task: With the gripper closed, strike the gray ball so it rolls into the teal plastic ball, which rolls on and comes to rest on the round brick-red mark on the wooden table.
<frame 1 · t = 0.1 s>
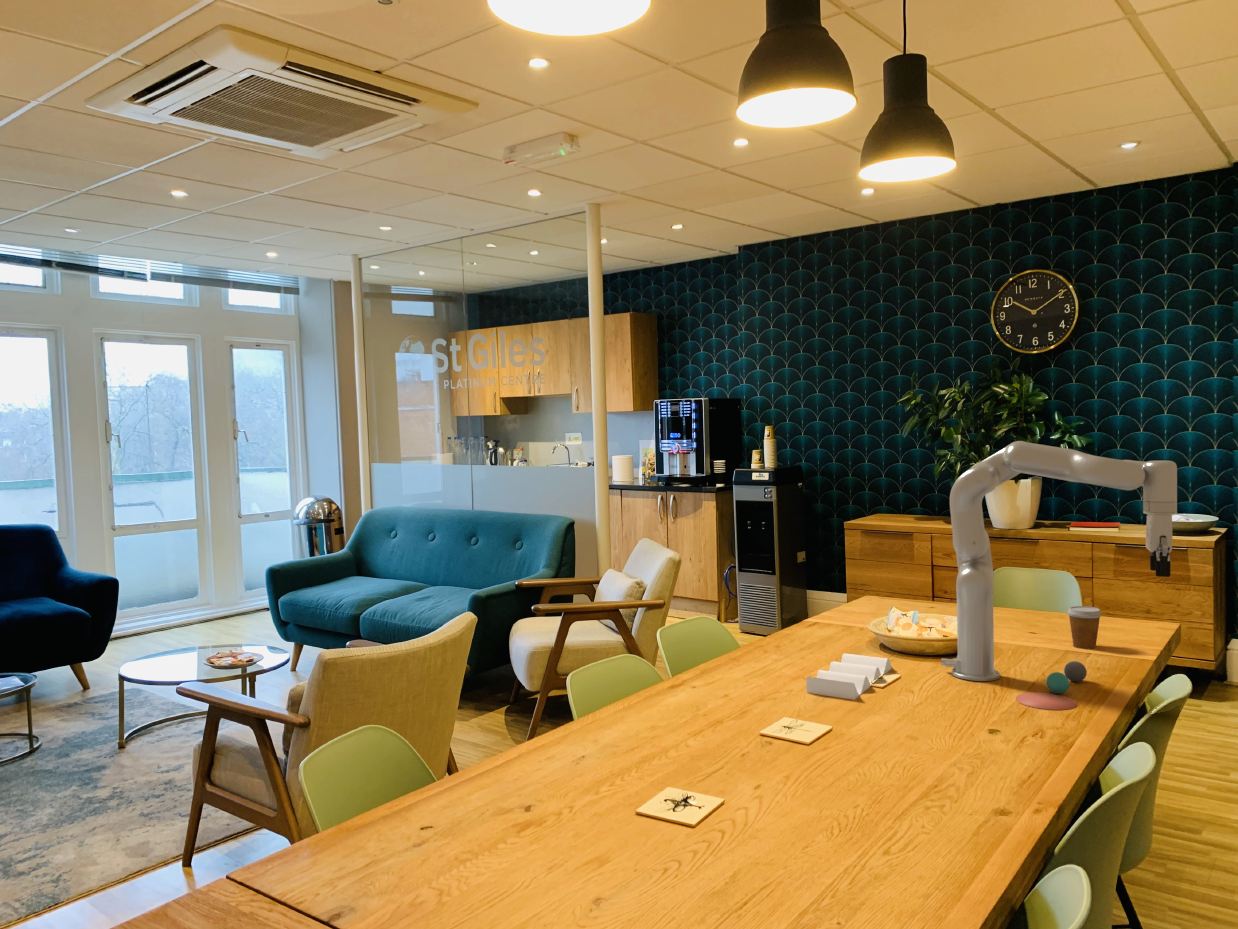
hand: (1160, 573, 232), 31 cm above the table, tool pointing down, fingers open, 9 cm apart
gray ball: (1075, 671, 244), on the table
white taco holder: (851, 682, 252), on the table
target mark: (1045, 701, 228), on the table
object ball: (1057, 683, 234), on the table
disposable coffee cup: (1084, 647, 281), on the table
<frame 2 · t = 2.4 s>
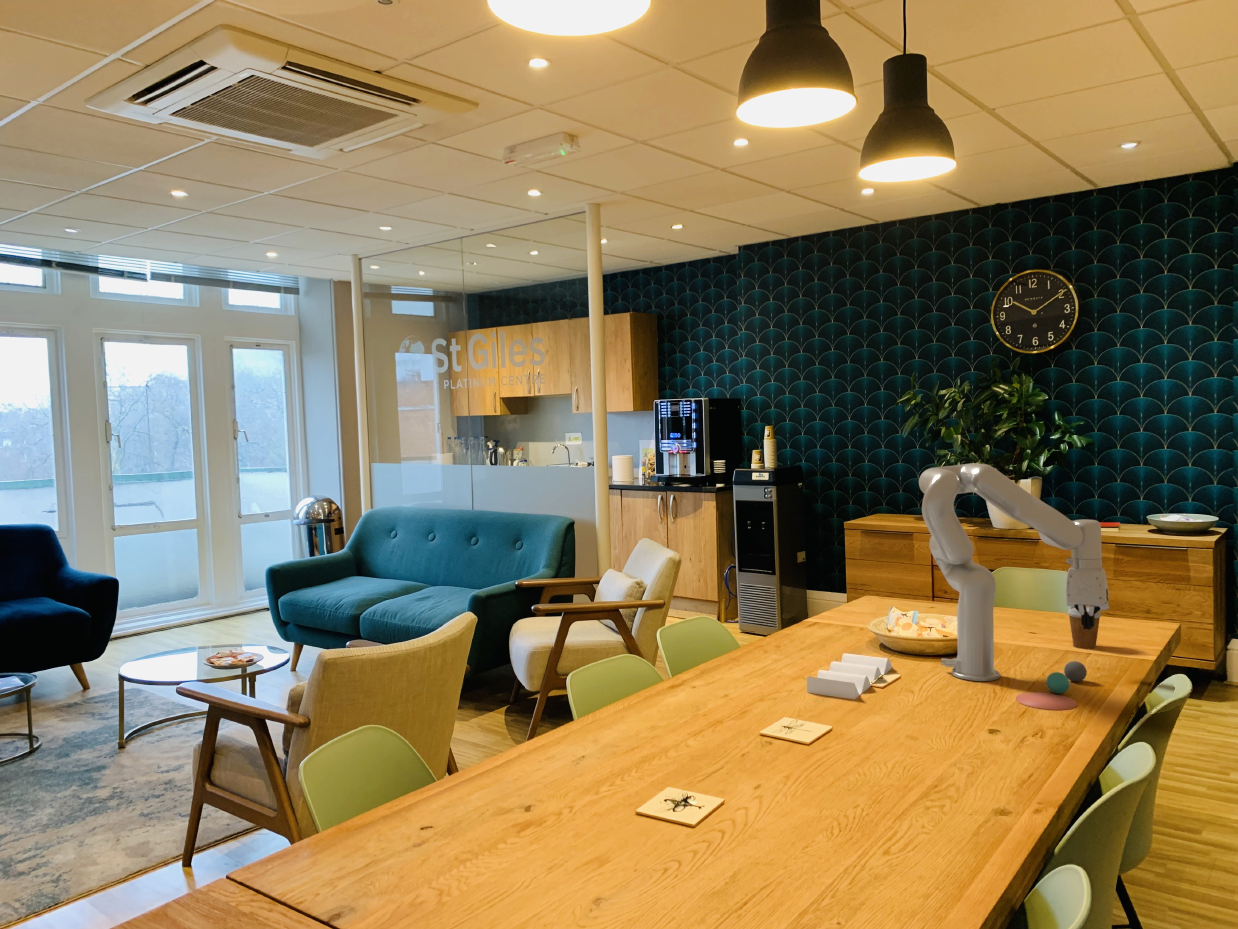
hand: (1088, 628, 250), 13 cm above the table, tool pointing down, fingers closed
nothing on the table moved.
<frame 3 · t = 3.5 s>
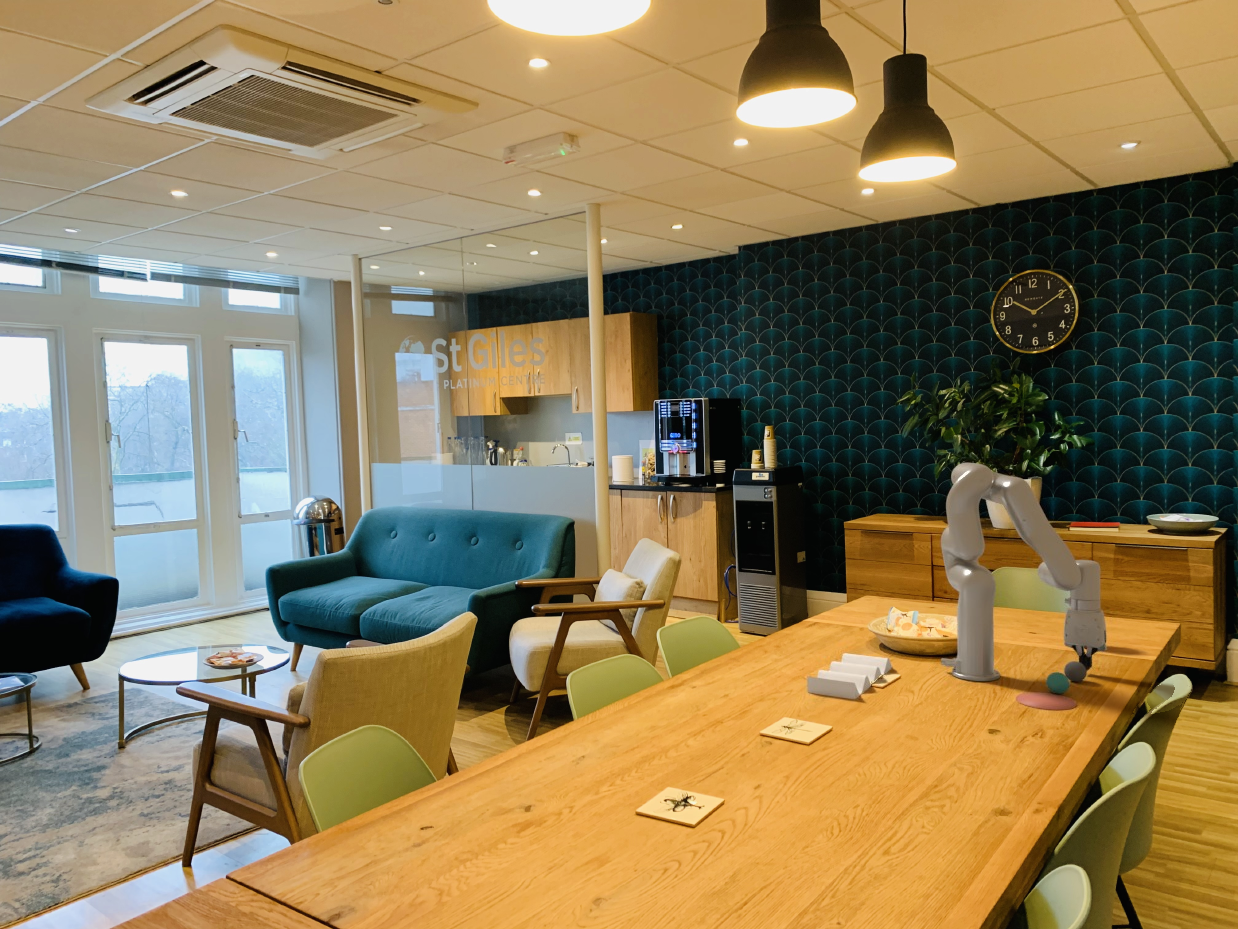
hand: (1085, 669, 250), 2 cm above the table, tool pointing down, fingers closed
nothing on the table moved.
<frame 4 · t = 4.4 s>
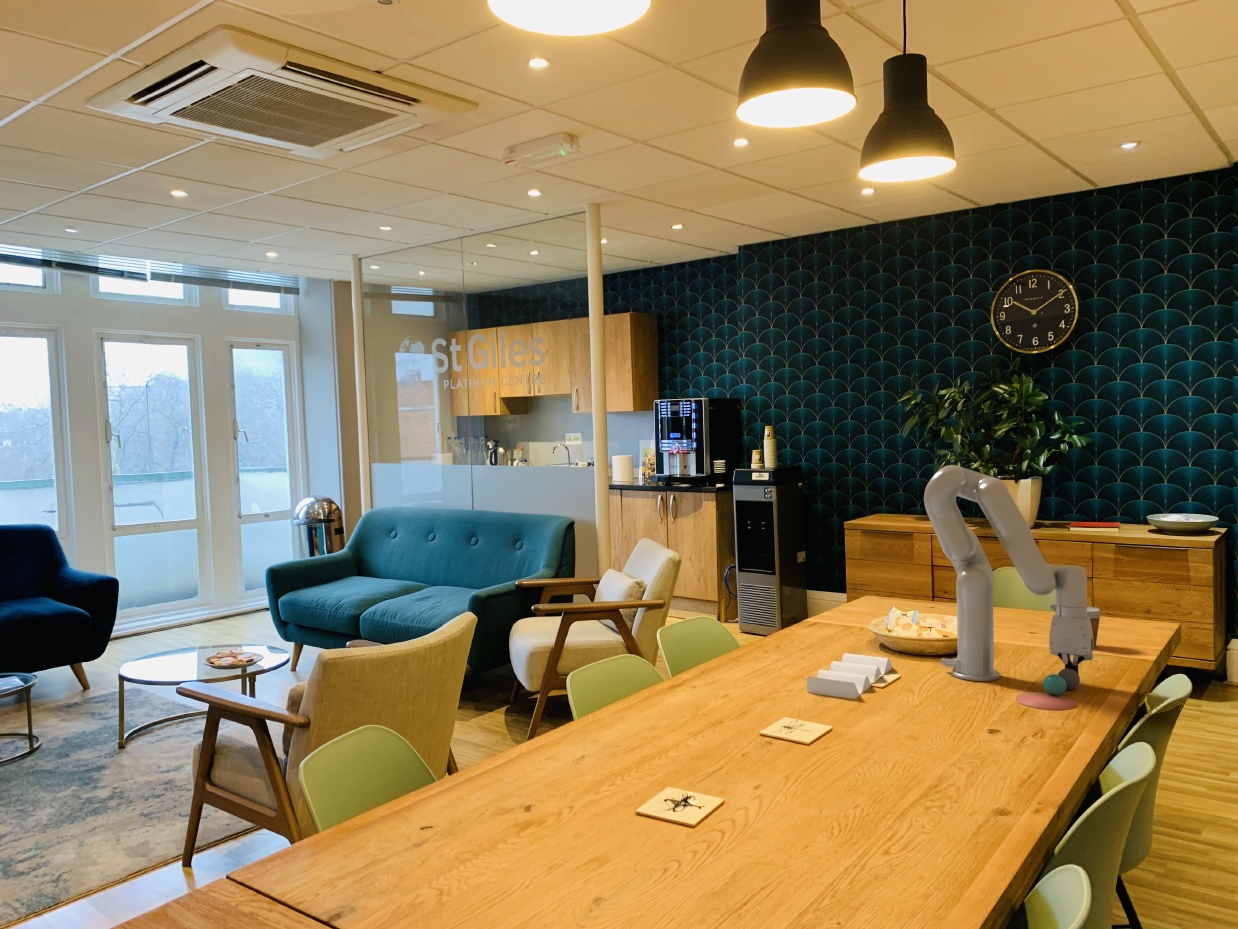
hand: (1071, 678, 242), 1 cm above the table, tool pointing down, fingers closed
gray ball: (1068, 679, 237), on the table
object ball: (1054, 684, 232), on the table
everything else where it was.
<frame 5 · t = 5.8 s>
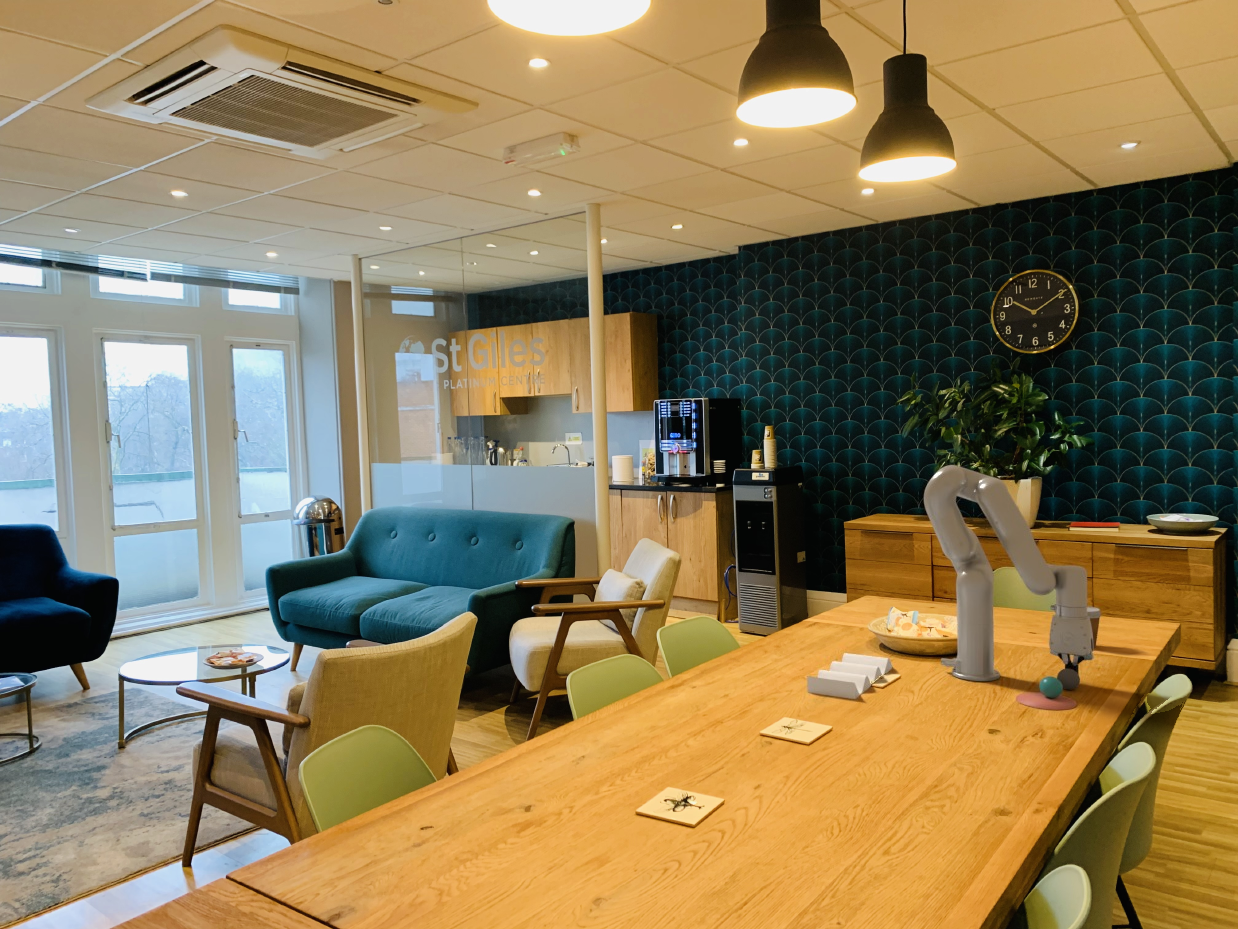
hand: (1071, 678, 242), 1 cm above the table, tool pointing down, fingers closed
object ball: (1051, 687, 230), on the table
everything else where it was.
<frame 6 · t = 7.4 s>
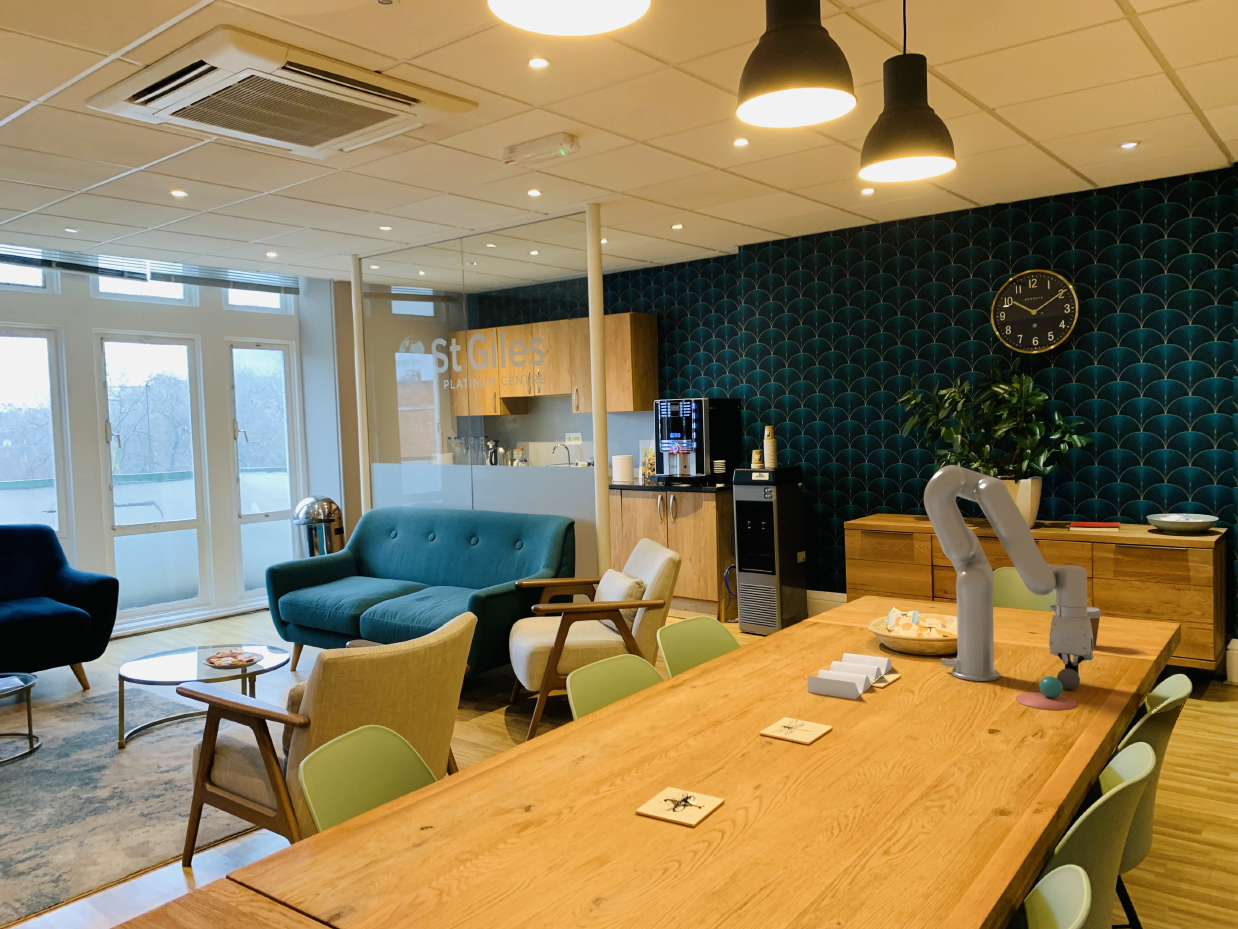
hand: (1071, 678, 242), 1 cm above the table, tool pointing down, fingers closed
nothing on the table moved.
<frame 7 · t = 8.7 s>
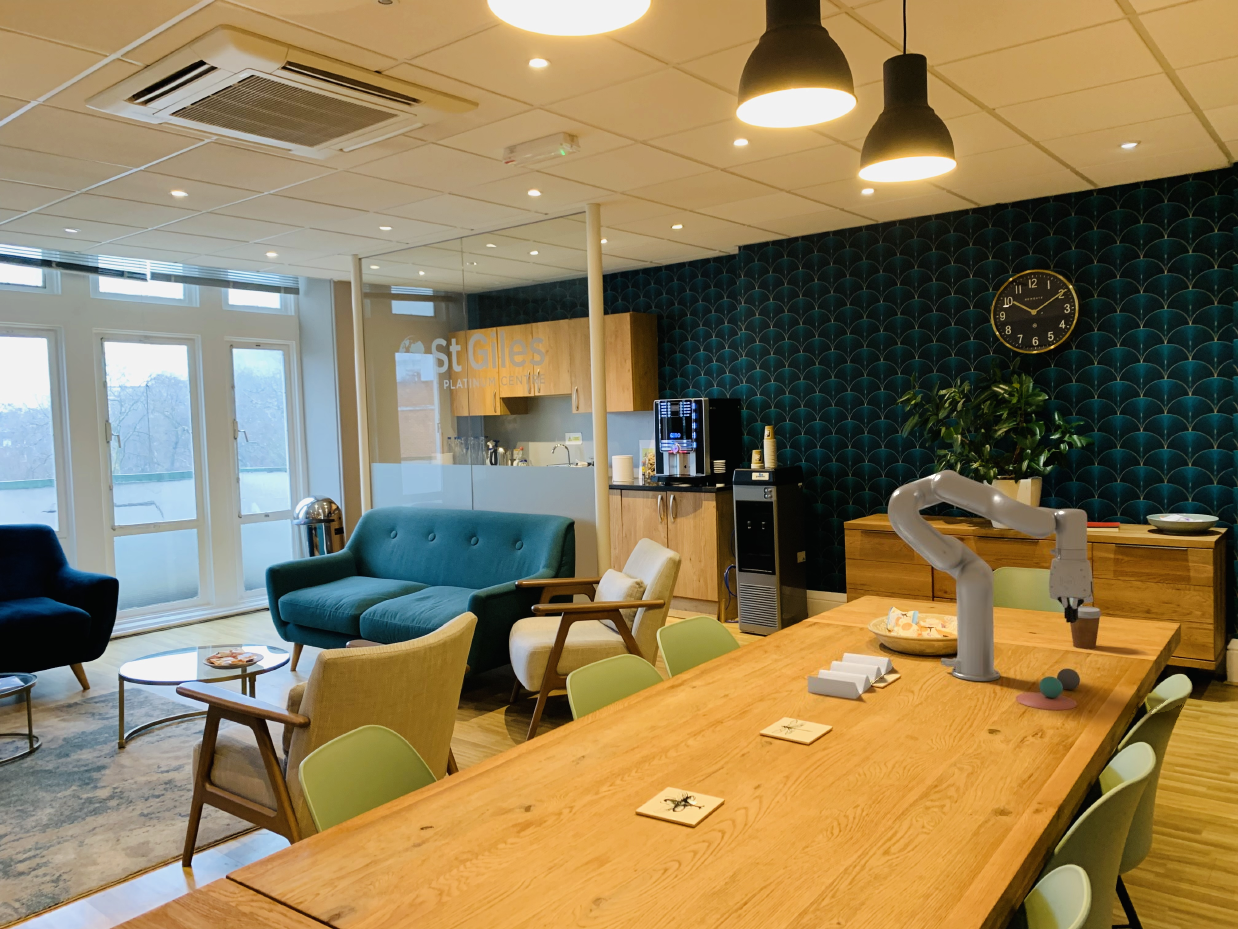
hand: (1071, 622, 241), 17 cm above the table, tool pointing down, fingers closed
nothing on the table moved.
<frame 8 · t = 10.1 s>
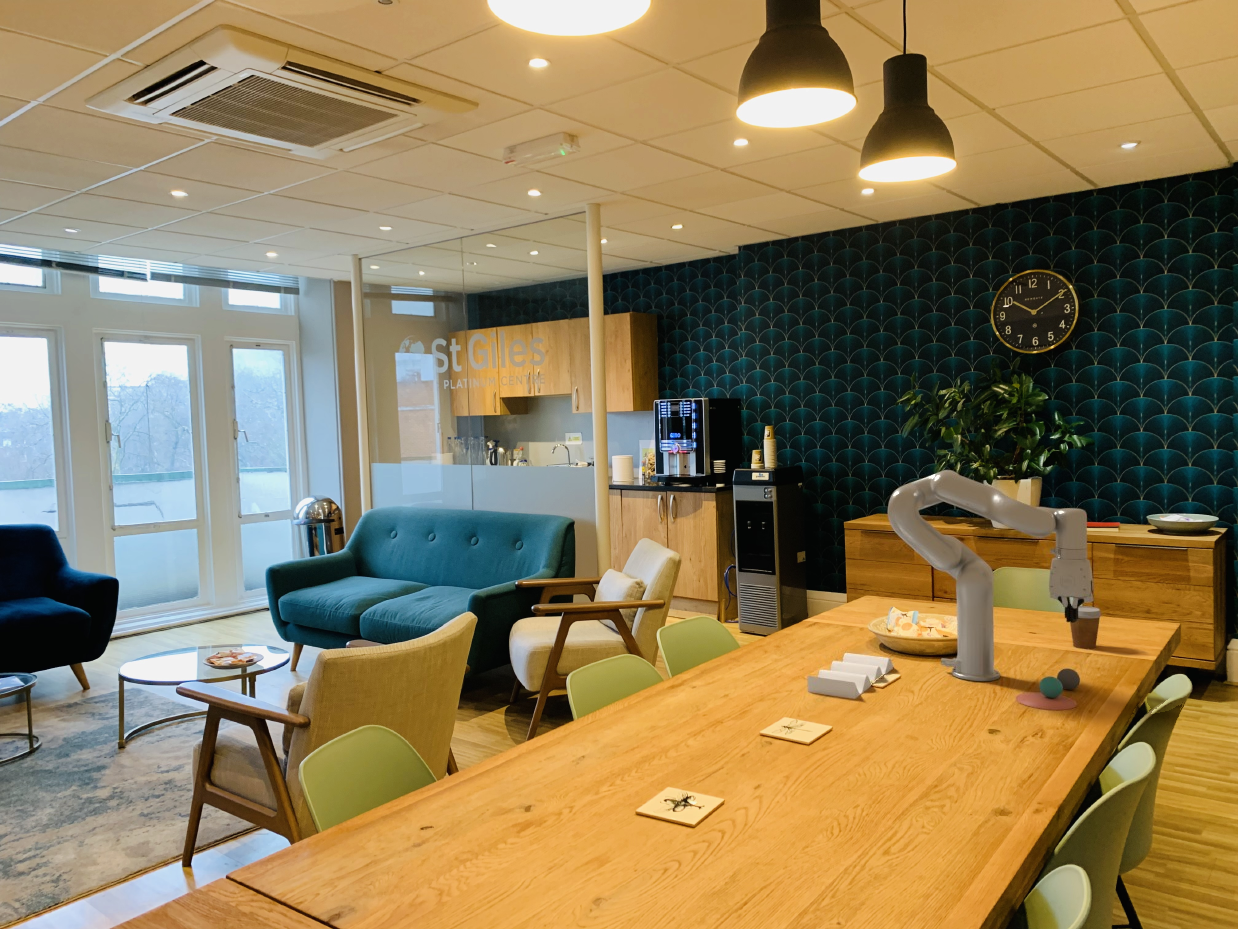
hand: (1071, 621, 241), 17 cm above the table, tool pointing down, fingers closed
nothing on the table moved.
at the end: object ball 3.9 cm from the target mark (horizontally); object ball never touched the robot; gray ball first touched object ball at 4.1 s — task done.
